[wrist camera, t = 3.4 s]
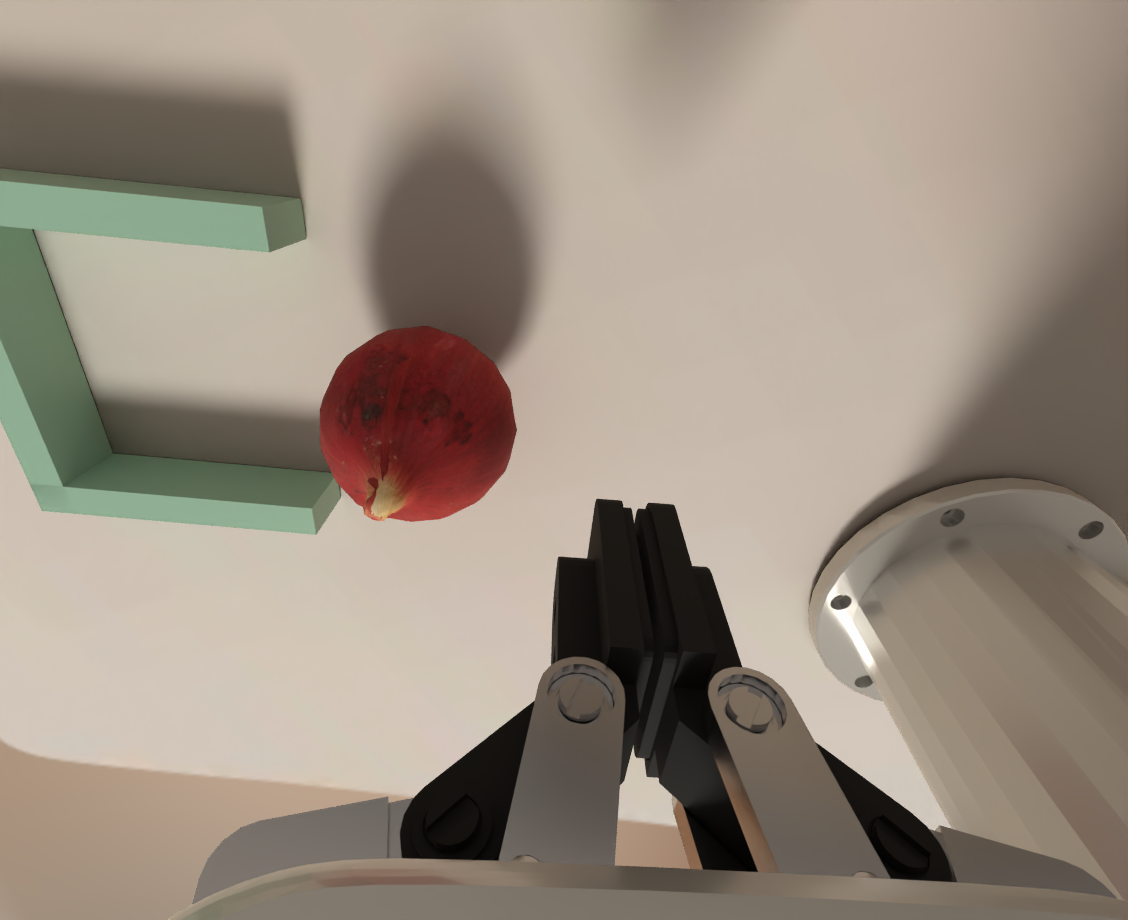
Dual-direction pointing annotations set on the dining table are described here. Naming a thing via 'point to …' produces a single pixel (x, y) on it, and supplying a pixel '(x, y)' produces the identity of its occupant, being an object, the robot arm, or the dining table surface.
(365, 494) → the onion
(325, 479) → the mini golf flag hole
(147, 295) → the dining table surface
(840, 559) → the robot arm
